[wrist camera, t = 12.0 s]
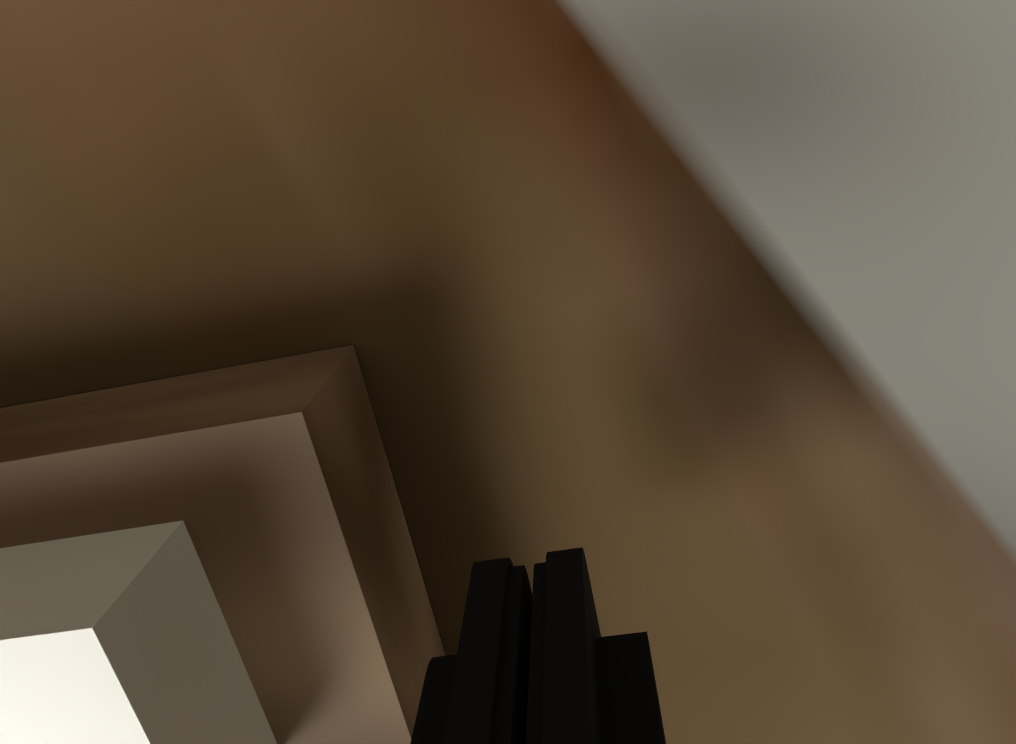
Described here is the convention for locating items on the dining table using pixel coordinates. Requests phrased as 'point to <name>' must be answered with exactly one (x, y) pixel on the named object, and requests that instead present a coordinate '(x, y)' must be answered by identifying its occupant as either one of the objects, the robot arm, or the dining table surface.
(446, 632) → the dining table surface
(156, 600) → the cream tile
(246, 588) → the walnut board
